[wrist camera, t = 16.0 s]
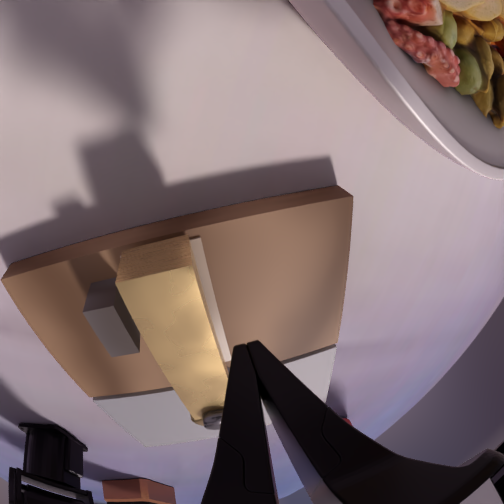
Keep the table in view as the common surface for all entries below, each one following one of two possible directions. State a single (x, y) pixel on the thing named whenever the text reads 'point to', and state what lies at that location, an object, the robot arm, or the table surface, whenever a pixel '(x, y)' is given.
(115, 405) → the board
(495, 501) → the robot arm
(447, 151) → the bowl
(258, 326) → the door board
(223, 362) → the swing bar
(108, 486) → the whiskey bottle
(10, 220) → the table surface
